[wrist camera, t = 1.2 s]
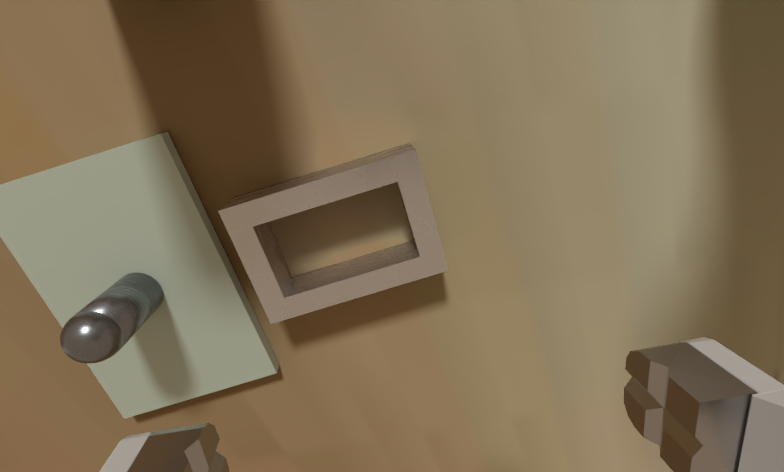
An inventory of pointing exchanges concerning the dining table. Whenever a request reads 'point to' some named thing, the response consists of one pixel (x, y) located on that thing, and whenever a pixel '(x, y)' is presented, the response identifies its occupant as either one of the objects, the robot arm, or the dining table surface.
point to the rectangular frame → (349, 277)
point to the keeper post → (111, 318)
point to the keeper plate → (138, 270)
